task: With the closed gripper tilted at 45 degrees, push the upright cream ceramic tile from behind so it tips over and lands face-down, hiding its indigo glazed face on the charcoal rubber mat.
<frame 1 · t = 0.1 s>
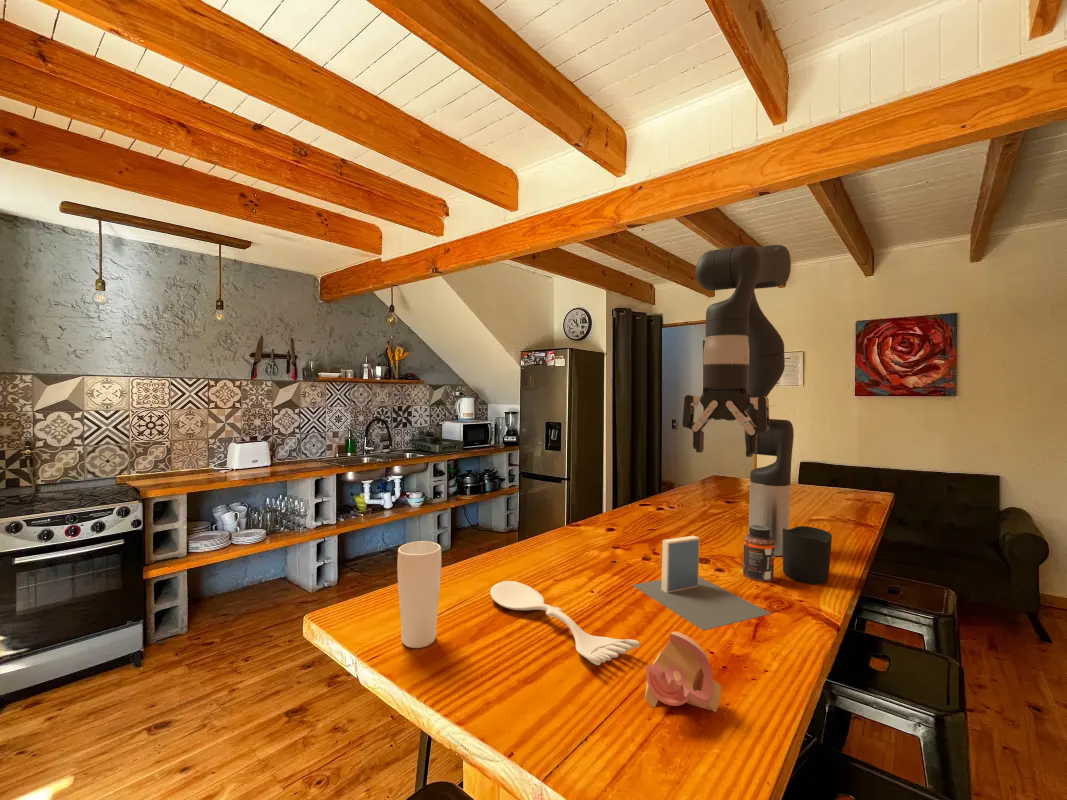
hand: (723, 454, 87), 29 cm above the table, tool pointing down, fingers open, 8 cm apart
mat: (697, 601, 94), on the table
pen holder: (805, 577, 108), on the table
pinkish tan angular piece: (682, 706, 64), on the table
drinking glass: (418, 642, 78), on the table
spoon: (551, 628, 84), on the table
supplement bottle: (757, 580, 106), on the table
tile: (679, 588, 99), point 1 cm above the table, touching mat
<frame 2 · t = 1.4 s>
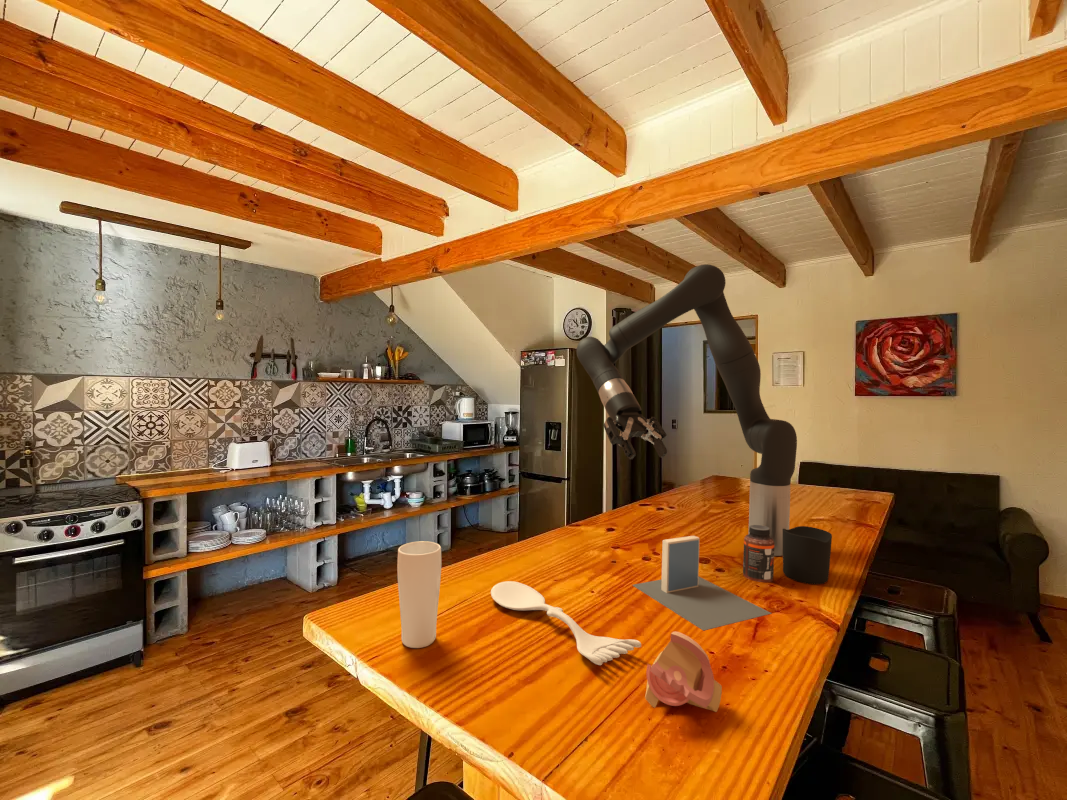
hand: (648, 456, 108), 26 cm above the table, tool tilted 45°, fingers open, 8 cm apart
nothing on the table moved.
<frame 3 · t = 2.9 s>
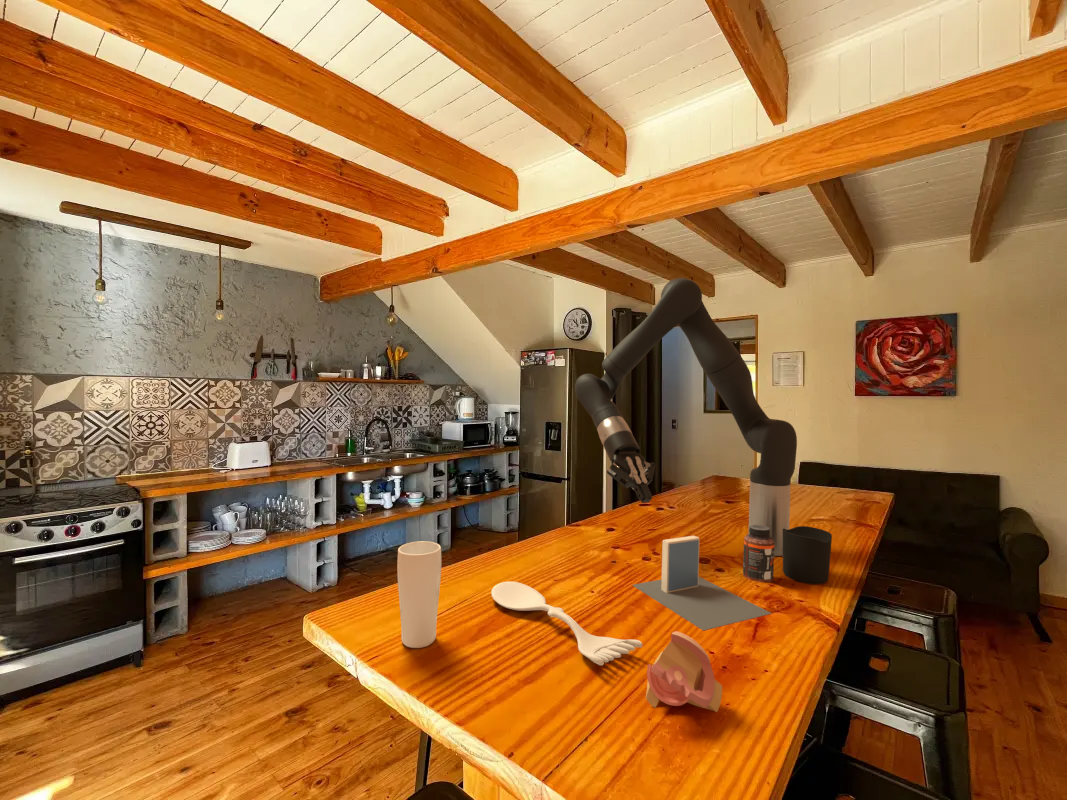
hand: (647, 500, 108), 16 cm above the table, tool tilted 45°, fingers closed
nothing on the table moved.
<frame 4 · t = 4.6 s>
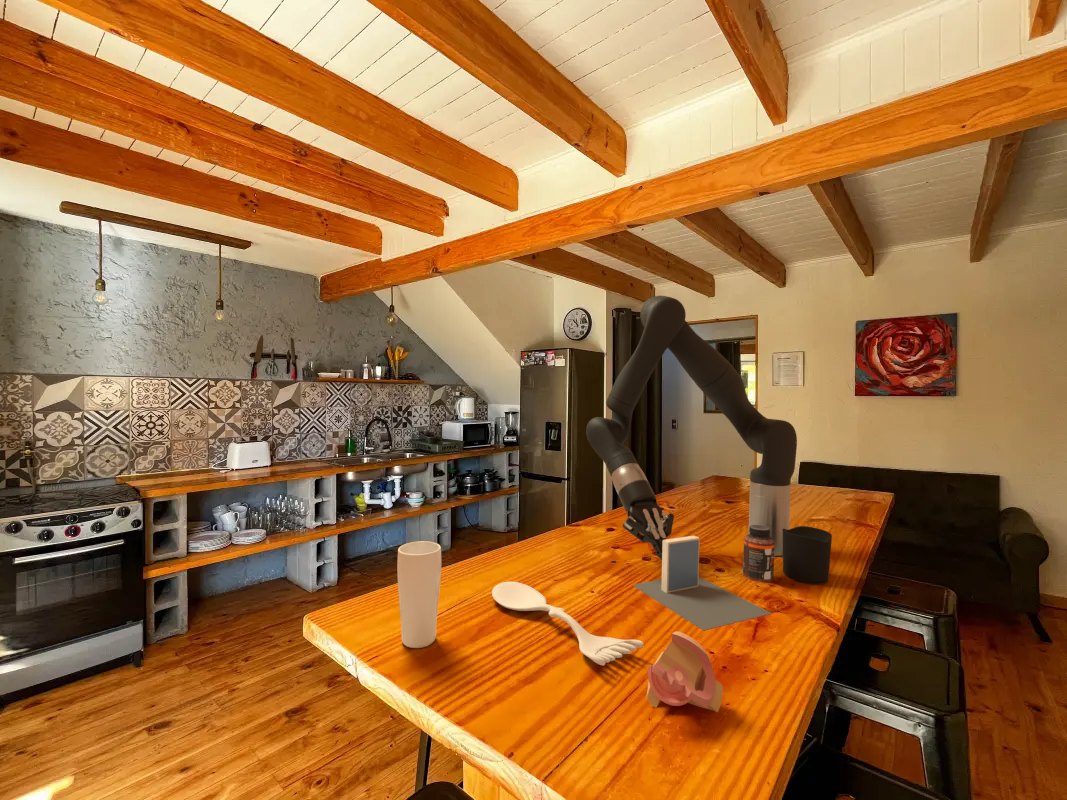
hand: (666, 557, 103), 5 cm above the table, tool tilted 45°, fingers closed
nothing on the table moved.
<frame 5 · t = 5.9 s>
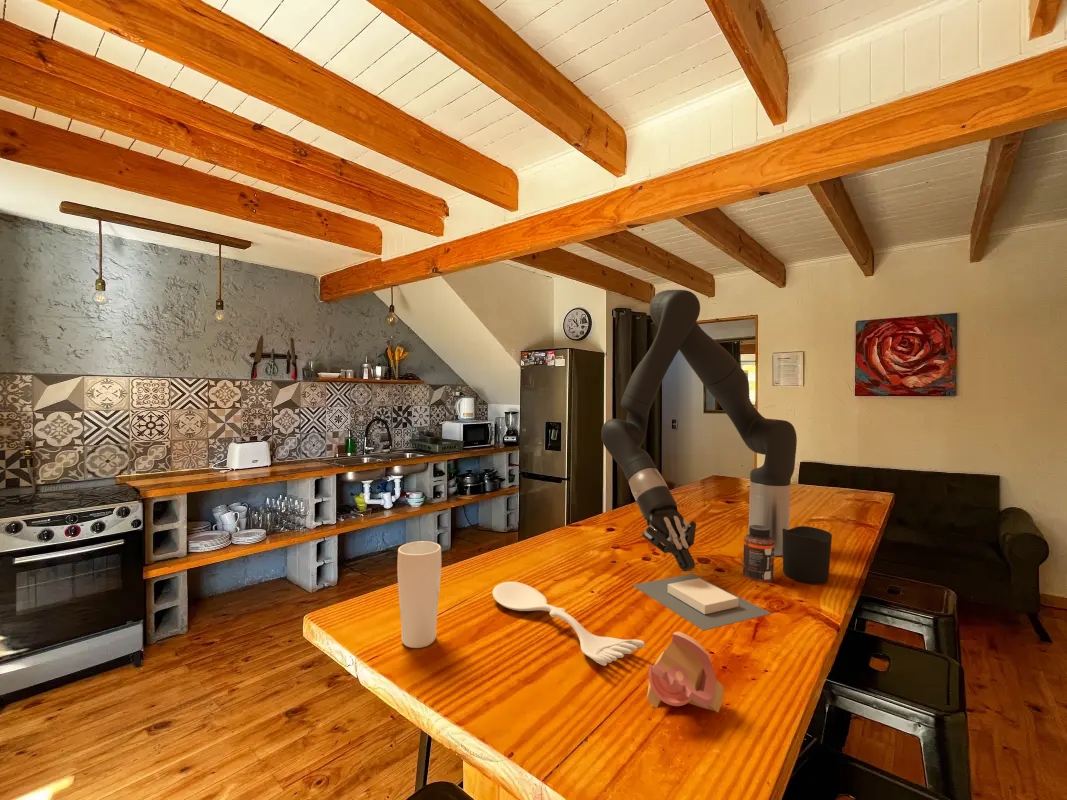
hand: (689, 569, 96), 5 cm above the table, tool tilted 45°, fingers closed
tile: (683, 585, 98), point 2 cm above the table, tilted 90°, touching mat
everything else where it was.
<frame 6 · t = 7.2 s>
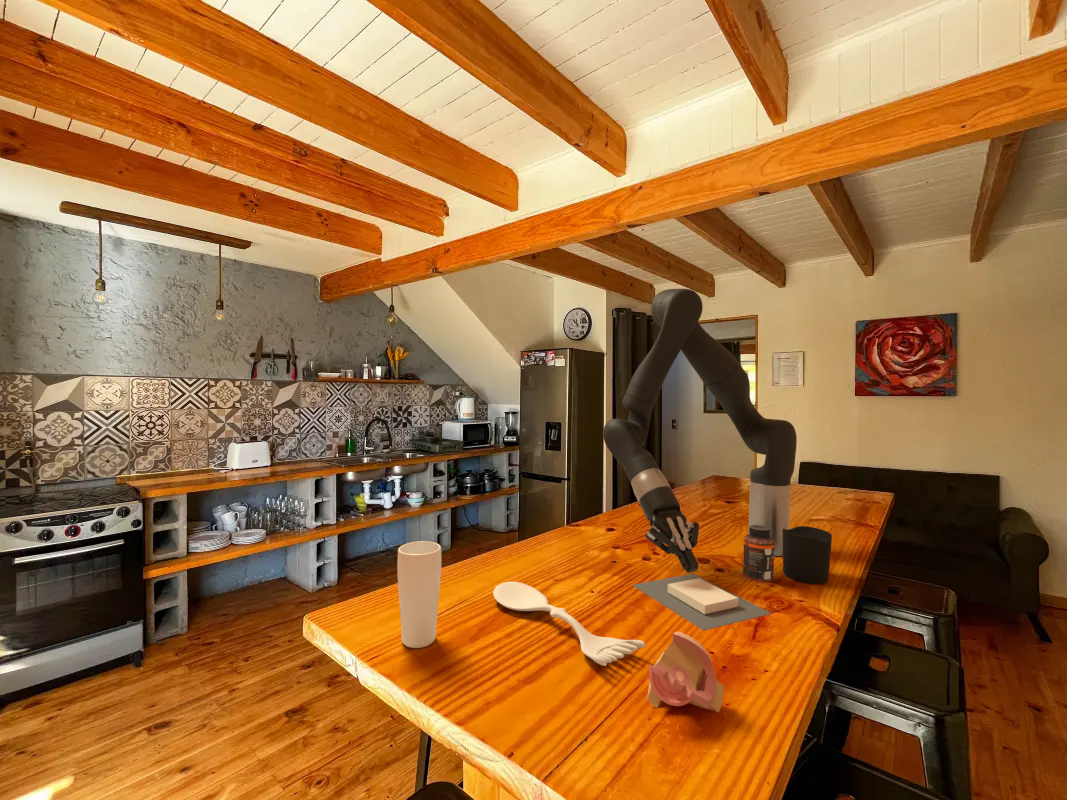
hand: (693, 570, 95), 5 cm above the table, tool tilted 45°, fingers closed
nothing on the table moved.
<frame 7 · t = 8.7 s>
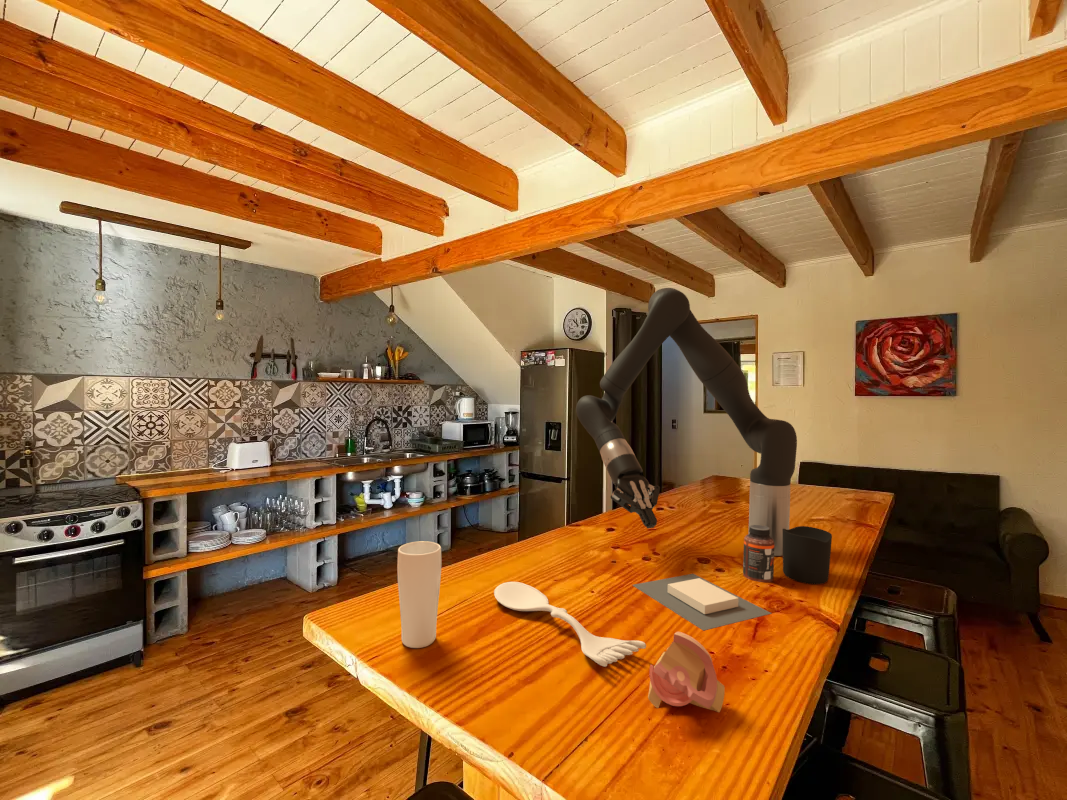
hand: (652, 526, 107), 11 cm above the table, tool tilted 45°, fingers closed
nothing on the table moved.
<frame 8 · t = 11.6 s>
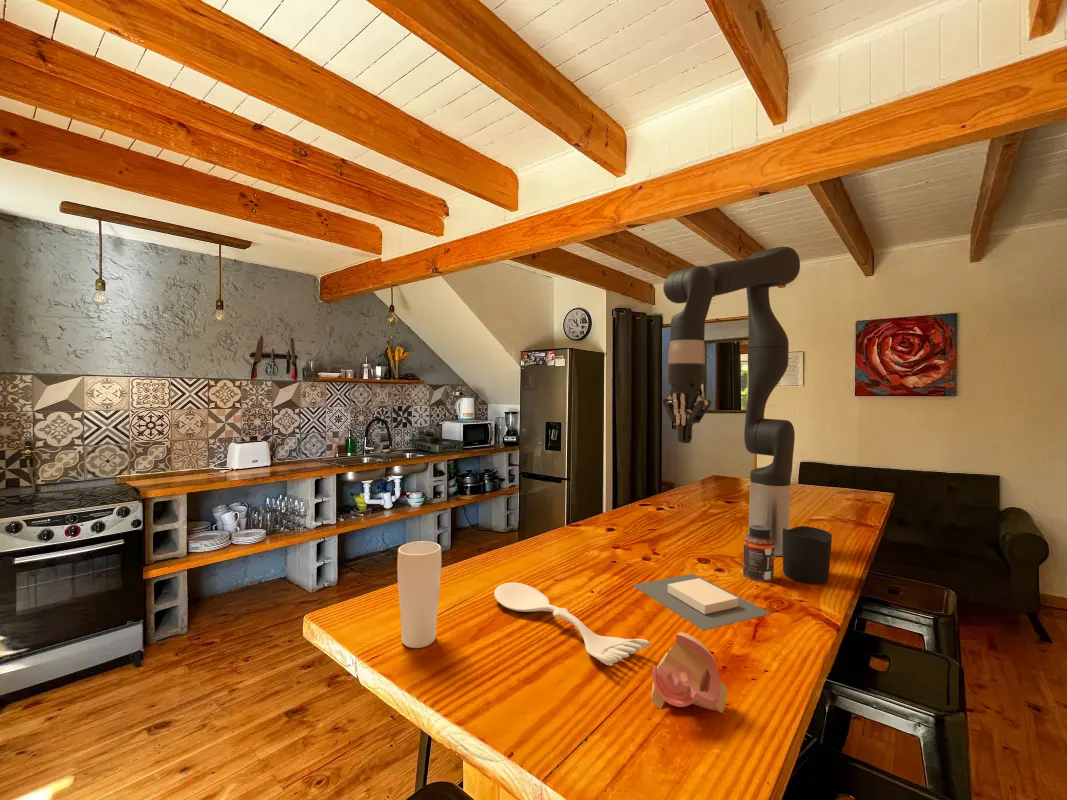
hand: (684, 442, 106), 29 cm above the table, tool pointing down, fingers closed
at the end: tile tilted 90°; tile 3.9 cm from the mat (horizontally); tile touching mat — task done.
